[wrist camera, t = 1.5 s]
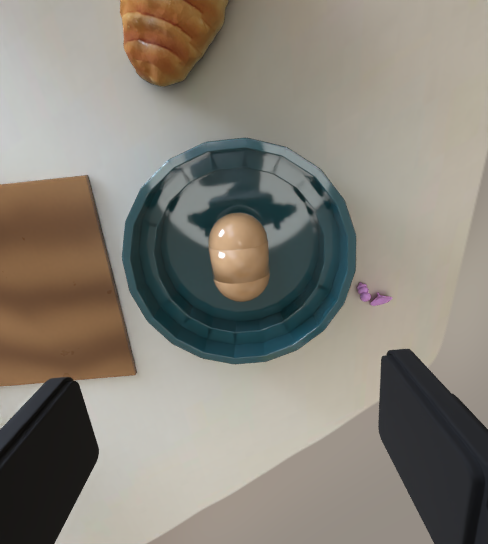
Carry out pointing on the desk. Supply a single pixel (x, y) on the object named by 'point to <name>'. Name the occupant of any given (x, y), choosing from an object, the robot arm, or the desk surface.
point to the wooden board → (57, 287)
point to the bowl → (281, 243)
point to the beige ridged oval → (239, 256)
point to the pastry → (169, 35)
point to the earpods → (366, 296)
